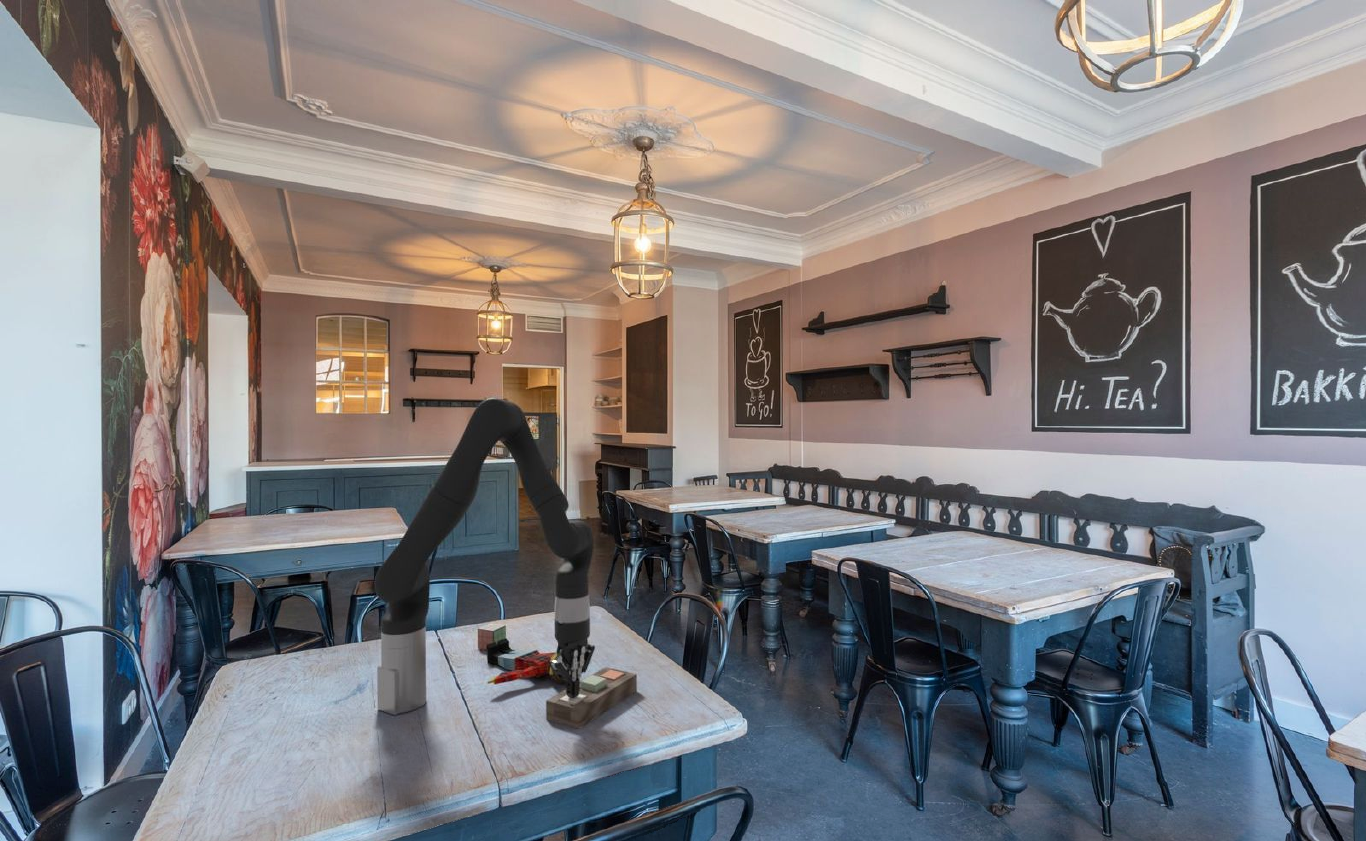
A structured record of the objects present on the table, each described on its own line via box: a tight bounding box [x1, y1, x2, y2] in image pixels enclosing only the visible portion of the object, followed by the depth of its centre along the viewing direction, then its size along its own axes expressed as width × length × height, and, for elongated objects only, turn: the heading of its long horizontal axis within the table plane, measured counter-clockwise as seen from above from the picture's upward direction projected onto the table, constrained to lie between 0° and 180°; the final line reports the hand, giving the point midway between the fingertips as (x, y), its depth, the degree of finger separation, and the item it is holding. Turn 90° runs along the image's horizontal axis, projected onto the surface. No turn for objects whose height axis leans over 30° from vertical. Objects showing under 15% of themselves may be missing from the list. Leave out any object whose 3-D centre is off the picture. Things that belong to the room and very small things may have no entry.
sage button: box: [580, 674, 606, 692], centre depth 141 cm, size 4×4×3 cm
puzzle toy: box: [477, 623, 507, 651], centre depth 179 cm, size 6×6×6 cm
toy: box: [486, 637, 566, 685], centre depth 160 cm, size 31×8×30 cm
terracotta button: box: [600, 670, 624, 681], centre depth 147 cm, size 4×4×3 cm
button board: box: [545, 666, 638, 730], centre depth 141 cm, size 21×9×4 cm, turn 150°
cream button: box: [560, 694, 586, 705], centre depth 135 cm, size 4×4×3 cm
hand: (572, 696), depth 135 cm, fingers closed
